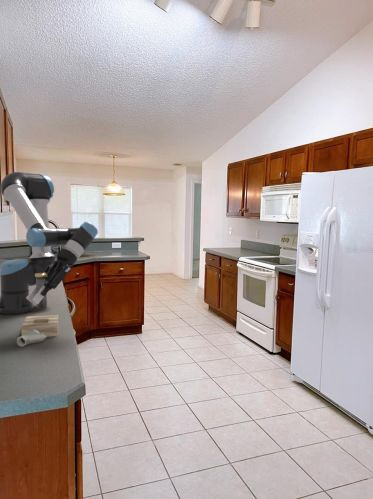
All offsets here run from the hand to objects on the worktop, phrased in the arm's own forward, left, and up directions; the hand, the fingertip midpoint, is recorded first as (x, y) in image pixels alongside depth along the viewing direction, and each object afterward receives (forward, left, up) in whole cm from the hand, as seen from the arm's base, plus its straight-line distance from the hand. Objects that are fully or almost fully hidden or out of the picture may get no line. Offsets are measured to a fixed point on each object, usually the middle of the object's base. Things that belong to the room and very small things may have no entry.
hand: (31, 301), depth 129 cm
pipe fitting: (+10, +1, -13) cm, 16 cm away
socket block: (-3, +3, -13) cm, 13 cm away
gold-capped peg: (-2, +3, -3) cm, 5 cm away
